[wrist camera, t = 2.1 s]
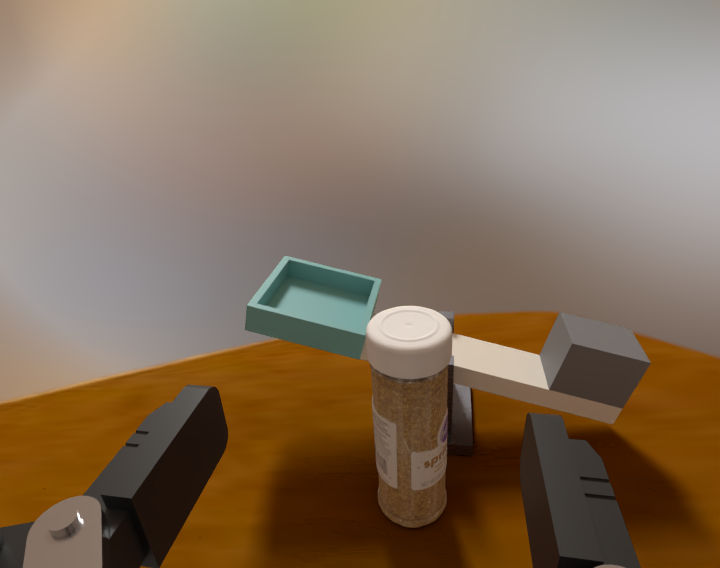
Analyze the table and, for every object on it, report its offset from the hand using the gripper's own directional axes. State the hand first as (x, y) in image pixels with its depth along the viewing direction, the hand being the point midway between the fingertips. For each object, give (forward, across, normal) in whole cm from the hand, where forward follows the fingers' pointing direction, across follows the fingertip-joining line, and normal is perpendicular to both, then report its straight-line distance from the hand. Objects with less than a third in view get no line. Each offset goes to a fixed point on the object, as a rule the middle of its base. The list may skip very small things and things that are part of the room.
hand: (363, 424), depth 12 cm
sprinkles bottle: (+12, 0, +18) cm, 22 cm away
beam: (+20, -1, +12) cm, 23 cm away
